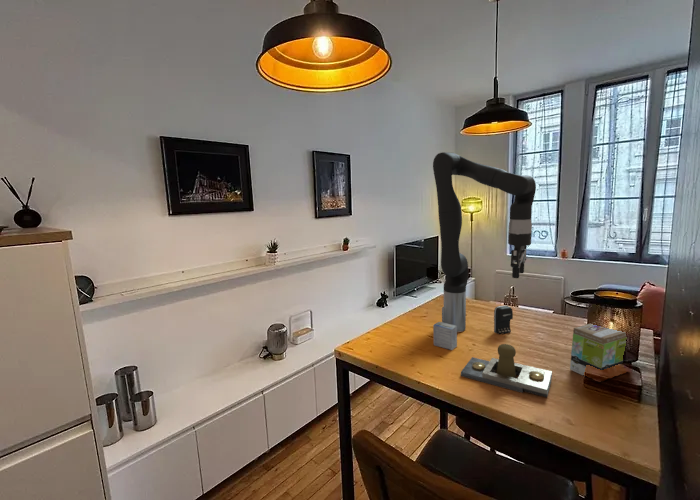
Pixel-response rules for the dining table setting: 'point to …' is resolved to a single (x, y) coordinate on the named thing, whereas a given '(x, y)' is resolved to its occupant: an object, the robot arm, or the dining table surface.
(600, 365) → the tea box
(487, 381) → the lower link plate
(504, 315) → the battery charger
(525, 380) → the upper link plate
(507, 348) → the cork
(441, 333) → the medicine box
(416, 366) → the dining table surface
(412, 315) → the dining table surface
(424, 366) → the dining table surface
